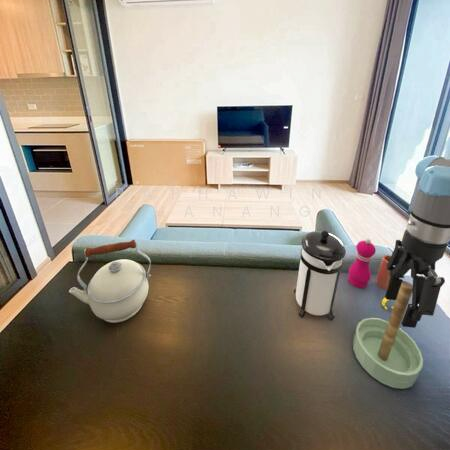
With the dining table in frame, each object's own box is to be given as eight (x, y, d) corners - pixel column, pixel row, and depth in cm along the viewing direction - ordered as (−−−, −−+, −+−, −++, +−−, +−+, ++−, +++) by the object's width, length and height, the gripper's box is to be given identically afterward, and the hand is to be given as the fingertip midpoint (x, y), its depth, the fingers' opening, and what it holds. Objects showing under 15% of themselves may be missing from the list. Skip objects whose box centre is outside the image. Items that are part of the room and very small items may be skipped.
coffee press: (346, 308, 83) (365, 234, 72) (317, 333, 75) (333, 254, 64) (305, 276, 96) (315, 209, 86) (276, 295, 88) (283, 223, 77)
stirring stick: (382, 351, 69) (407, 280, 60) (389, 360, 67) (416, 287, 58) (375, 352, 69) (399, 281, 60) (382, 361, 67) (408, 289, 58)
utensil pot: (383, 279, 95) (391, 254, 91) (395, 289, 91) (403, 263, 86) (372, 281, 94) (379, 256, 90) (383, 291, 90) (391, 265, 85)
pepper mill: (350, 288, 91) (360, 244, 84) (344, 274, 98) (354, 232, 90) (371, 291, 90) (383, 246, 83) (363, 276, 96) (375, 234, 89)
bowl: (383, 327, 77) (388, 313, 75) (431, 382, 63) (438, 367, 61) (341, 337, 74) (344, 323, 72) (380, 397, 60) (386, 381, 58)
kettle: (153, 277, 96) (146, 223, 87) (156, 318, 79) (148, 256, 70) (82, 294, 88) (66, 236, 79) (69, 342, 72) (48, 276, 63)
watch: (396, 306, 84) (401, 293, 82) (401, 313, 81) (406, 300, 79) (379, 305, 84) (383, 292, 82) (383, 312, 82) (387, 299, 80)
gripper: (385, 211, 63) (366, 280, 72) (439, 266, 45) (406, 350, 53) (415, 213, 63) (393, 282, 71) (484, 269, 44) (443, 354, 52)
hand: (399, 311), depth 62 cm, fingers open, 7 cm apart
